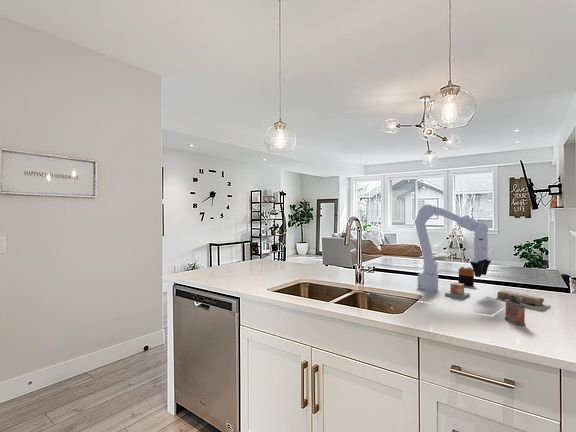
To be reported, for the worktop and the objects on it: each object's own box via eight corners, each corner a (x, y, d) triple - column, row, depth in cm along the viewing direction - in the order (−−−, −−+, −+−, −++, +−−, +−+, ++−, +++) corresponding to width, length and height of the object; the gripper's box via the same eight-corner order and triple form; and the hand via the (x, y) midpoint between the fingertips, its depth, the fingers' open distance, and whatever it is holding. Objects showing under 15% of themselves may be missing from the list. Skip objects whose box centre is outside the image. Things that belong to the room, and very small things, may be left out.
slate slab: (444, 295, 157) (444, 292, 157) (452, 293, 163) (452, 290, 163) (462, 299, 151) (462, 296, 151) (469, 296, 157) (469, 293, 157)
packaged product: (494, 291, 151) (505, 288, 156) (494, 301, 151) (505, 298, 157) (540, 300, 136) (551, 297, 141) (540, 312, 136) (551, 308, 141)
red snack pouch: (502, 318, 126) (502, 292, 126) (510, 318, 126) (511, 292, 126) (518, 326, 118) (519, 298, 118) (527, 326, 118) (528, 298, 118)
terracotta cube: (450, 292, 157) (450, 283, 157) (454, 291, 160) (454, 282, 160) (460, 294, 154) (460, 285, 154) (464, 293, 157) (464, 283, 156)
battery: (472, 286, 179) (472, 268, 179) (458, 285, 184) (458, 267, 183) (473, 285, 183) (474, 267, 182) (460, 283, 187) (460, 266, 187)
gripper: (484, 249, 153) (484, 279, 153) (495, 247, 163) (494, 274, 163) (468, 248, 158) (468, 276, 158) (479, 246, 168) (479, 273, 168)
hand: (480, 275), depth 161 cm, fingers open, 7 cm apart
